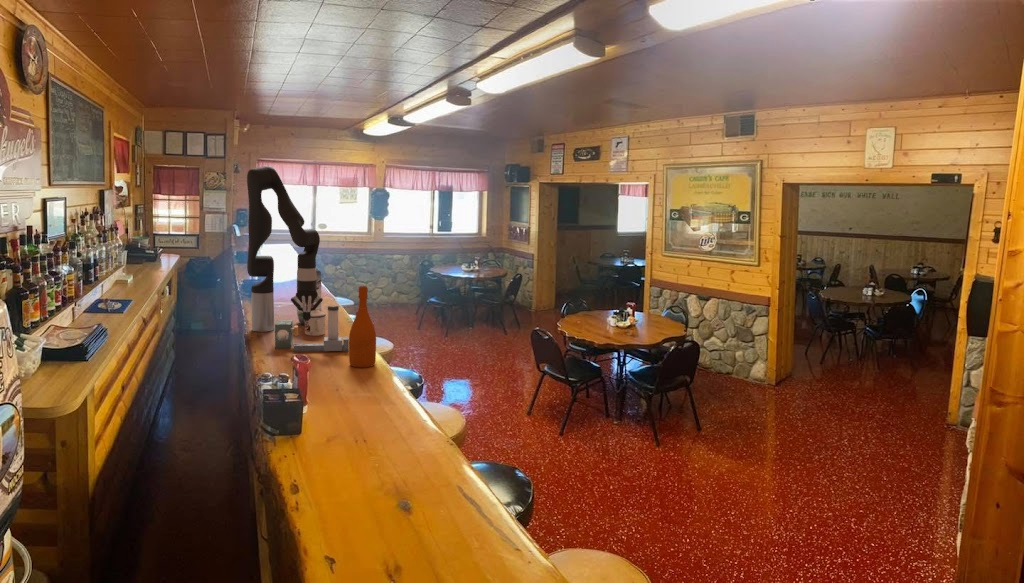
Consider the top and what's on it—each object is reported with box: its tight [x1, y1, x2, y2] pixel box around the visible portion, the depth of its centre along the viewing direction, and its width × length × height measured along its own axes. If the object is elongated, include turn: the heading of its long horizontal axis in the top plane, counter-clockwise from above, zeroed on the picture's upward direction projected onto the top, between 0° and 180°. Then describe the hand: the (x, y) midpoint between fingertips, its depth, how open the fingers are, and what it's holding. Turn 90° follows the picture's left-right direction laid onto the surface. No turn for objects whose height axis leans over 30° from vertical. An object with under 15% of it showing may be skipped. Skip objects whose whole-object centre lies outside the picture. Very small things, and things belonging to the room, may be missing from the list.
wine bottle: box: [348, 285, 377, 369], centre depth 239 cm, size 10×10×30 cm
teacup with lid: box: [304, 308, 326, 337], centre depth 284 cm, size 12×9×12 cm
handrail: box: [293, 336, 349, 353], centre depth 259 cm, size 5×21×5 cm, turn 104°
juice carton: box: [296, 268, 322, 326], centre depth 304 cm, size 9×10×27 cm
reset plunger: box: [273, 325, 299, 337], centre depth 262 cm, size 3×9×3 cm, turn 104°
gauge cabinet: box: [274, 319, 294, 350], centre depth 262 cm, size 8×6×10 cm
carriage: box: [323, 305, 343, 352], centre depth 259 cm, size 6×7×18 cm
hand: (306, 320), depth 264 cm, fingers closed
